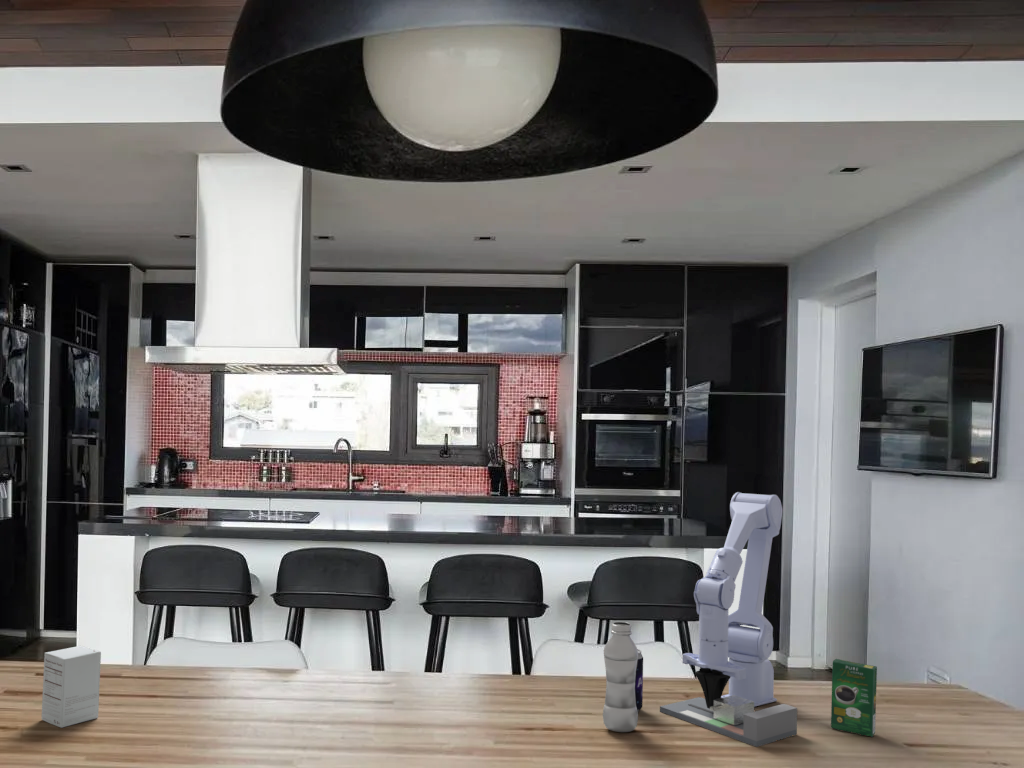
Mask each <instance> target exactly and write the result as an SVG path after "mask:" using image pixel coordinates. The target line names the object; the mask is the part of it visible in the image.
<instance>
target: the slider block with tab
mask: <svg viewBox="0 0 1024 768" xmlns="http://www.w3.org/2000/svg"><path fill="white" fill-rule="evenodd" d="M710 710H711V711H714V717H713V718H714V719H717V720H720V721H723V722H726V723H728V724H731V725H737V724H741V723H744V714H747V713H751V712H755V707H754V701H751V700H747V699H744V698H741V697H738V696H735V695H732V696H728V697H724V698H720V699H716V700H714V706H712V707H710Z"/></svg>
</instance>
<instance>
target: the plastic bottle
mask: <svg viewBox="0 0 1024 768" xmlns="http://www.w3.org/2000/svg"><path fill="white" fill-rule="evenodd" d="M610 634H612V635H611V637H610V639H608V641H607V642H606V644H605V645H604V649H603V659H604V668H605V679H606V688H605V699H604V705H603V709H602V720H603V725H604V727H605V728H606V729H608V730H610V731H612V732H618V733H629V732H633V731H634V730H635V729H636V727H637V726H638V719H639V712H637V707H636V698H635V675H636V667H637V660H638V659H637V658H638V650H637V649H638V648H637V645H636V644H635V642H634V640H633V638H632V637H631V635H632V634H633V631H632V623H630V622H627V621H626V622H625V621H613V622H612V623H611V630H610Z"/></svg>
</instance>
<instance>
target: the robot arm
mask: <svg viewBox="0 0 1024 768" xmlns="http://www.w3.org/2000/svg"><path fill="white" fill-rule="evenodd" d="M729 512H730V513H729V514H730V519H731V524H730V526H729V529H728V531H727V532H728V533H727V536H726V539H725V542H724V546H723V547H720V548H718V549H717V550H716V551H715V553H714V555H713V558H712V560H711V562H710V565H709V567H708V569H707V572H706V574H705V576H704V577H702V578H701V579H698V580H697V581H696V583H695V587H694V591H693V599H694V602H695V604H696V605H695V606H696V613H697V615H699V616H698V618H699V619H698V621H699V623H698V654H696V653H691V652H685V653H683V654H682V664H685V665H690V666H695V667H698V668H699V670H697V671H695V677H696V678H697V680H698V683H699V684H700V687H701V689H702V693H703V696H704V699H705V701H706V705H707V708H709V709H710V707H712V706H714V700H716V699H720V698H724V697H728V696H732V695H735V696H738V697H741V698H744V699H747V700H751V701H754V708H756V707H757V706H762V705H767V704H770V703H773V702H777V701H778V699H777V698H776V697H774V689H775V688H774V687H775V685H774V683H775V681H774V680H775V679H774V678H775V676H774V675H775V674H774V667H773V663H772V662H771V661H770V660H769V658H770V657H771V655H772V652H773V650H774V649H773V648H774V637H773V634H774V633H773V632H774V627H773V625H772V623H771V622H770V621H769V620H768V619H767V618H766V616H764V614H763V608H764V607H763V605H764V599H765V593H766V588H767V587H766V585H767V579H768V571H769V564H770V558H771V551H772V543H773V538H775V537H777V536H778V535H779V534H780V530H781V525H782V518H783V506H782V502H781V499H780V497H779V496H778V495H777V494H761V493H760V494H759V493H758V494H757V493H746V492H745V493H742V492H740V491H737V492H735V493H733V495H732V497H731V500H730V503H729ZM746 544H747V548H746V553H745V554H746V555H745V556H746V557H745V562H744V561H743V558H742V556H741V554H742V551H743V550H744V548H745V546H746ZM743 562H744V568H743V576H742V582H741V587H740V588H741V589H740V594H739V602H738V608H737V609H736V610H735V611H733V612H731V613H730V614H729V609H730V608H731V607H732V606H733V603H734V601H735V599H734V598H735V590H736V583H735V582H736V579H737V577H738V575H739V572H740V570H741V568H742V564H743ZM727 683H728V684H727ZM727 685H728V694H723V693H724V691H725V688H726V686H727Z"/></svg>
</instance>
